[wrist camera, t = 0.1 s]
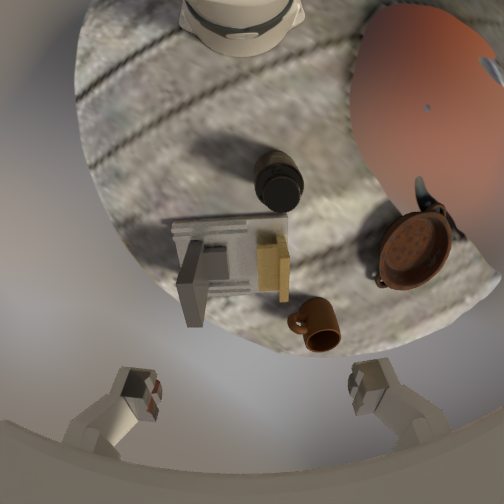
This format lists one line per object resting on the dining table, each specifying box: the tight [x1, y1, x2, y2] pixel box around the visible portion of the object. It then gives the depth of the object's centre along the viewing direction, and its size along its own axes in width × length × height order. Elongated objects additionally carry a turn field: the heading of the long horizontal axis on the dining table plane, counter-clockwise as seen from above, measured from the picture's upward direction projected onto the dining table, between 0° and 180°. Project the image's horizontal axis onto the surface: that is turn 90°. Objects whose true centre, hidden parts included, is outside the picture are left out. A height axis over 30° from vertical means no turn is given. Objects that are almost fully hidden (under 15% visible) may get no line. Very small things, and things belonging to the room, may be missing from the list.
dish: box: [375, 203, 452, 290], centre depth 51 cm, size 18×22×5 cm
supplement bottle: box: [254, 151, 304, 213], centre depth 40 cm, size 7×7×12 cm
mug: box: [287, 298, 341, 352], centre depth 57 cm, size 12×8×9 cm, turn 62°
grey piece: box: [171, 214, 290, 302], centre depth 50 cm, size 16×20×8 cm
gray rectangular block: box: [176, 241, 230, 327], centre depth 47 cm, size 9×6×12 cm
